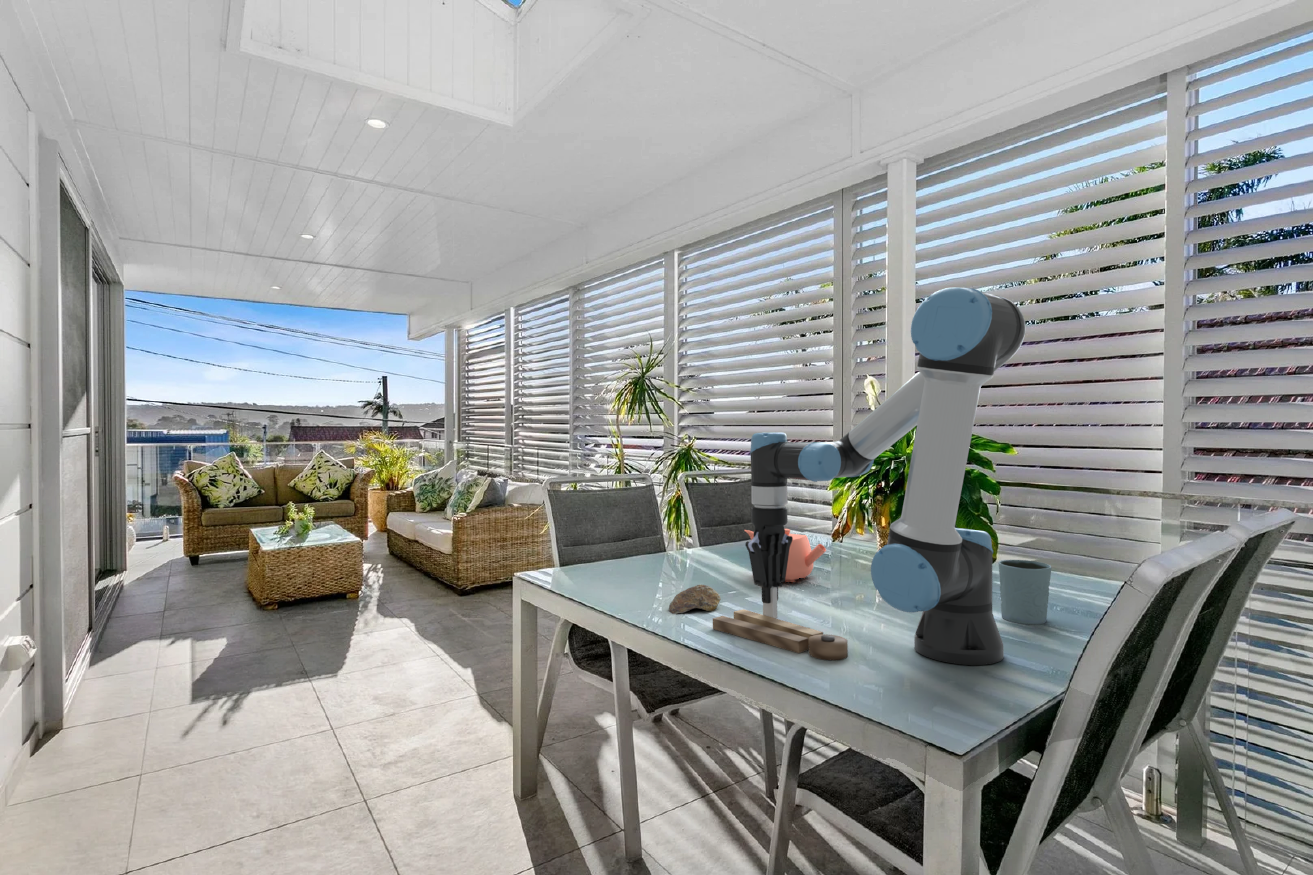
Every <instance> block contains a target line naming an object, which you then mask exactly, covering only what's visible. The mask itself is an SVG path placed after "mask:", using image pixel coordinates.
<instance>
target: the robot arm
mask: <svg viewBox="0 0 1313 875" xmlns="http://www.w3.org/2000/svg"><path fill="white" fill-rule="evenodd" d="M910 325H911V326H910V338H911V342H912V343H913V345H914V346H915V348H916V350H917V351H918V354H919V355H918V360H917V366H916V369H917V371H918V372H917V373H915V375H913V376H912V377H911V378H910V379H909V380H907V381H906V382H905V383H904V384H902V386H901V387H899V389H897V390H896V391H895V392H894V393H892V394H891V396H889V397H888V398H886V400H884V401H883V402H882V403H881V404H880V405H879V406H877V407H876V408H875V409H874V410H872V411H871V412H870V413H869V414H868V415H867V416H866V417H865V418H863V419H862V420H861V421H860V422H859V423H858V424H856V425H855V426H854V427H853V428H852V429H850V430H849V431H848V432H847V433H846V434H845V435H844V436H842V437H841V438H840V439H839V440H837V441H814V442H810V441H809V442H806V441H805V442H789V441H788V437H787V434H786V433H785V432H755V433H754V434H752V435H751V440H750V441H751V442H750V452H749V456H750V468H751V469H750V476H751V477H750V478H751V480H750V484H751V485H750V487H751V488H750V489H751V491H750V492H751V505H753V506H751V510H750V511H751V512H750V516H751V518H750V520H751V524H752V525H753V526H754V531H753V532H754V534H753V536H754V538H753V539H752V540H751V539H750V540H749V541H746V542H745V547H746V550H747V552H748V556H749V560H750V567H751V573H752V578H753V583H754V585H755V586H758V587H760V588H761V603H762V615H765V616H769V617H772V618H776V619H778V600H779V587H780V588H781V587H783V585H784V584H783V583H784V582H785V578H786V570H787V563H788V556H789V549H790V545H791V543H792V540H793V538H792V536H788V535H786V534H785V529H786V528H785V527H784V526H787V524H788V508H787V506H786V505H787V504H788V500H789V499H788V480H800V481H811V482H814V483H815V482H816V483H817V482H829V481H832V480H833V479H835V478H837V479H838V478H856V477H859V476H861V475H865V474H867V473H868V472H869V471H870V470H871V469H872V467H873V464H874V461H875V459H876V458H877V457H879V455H881V454H882V453H884V452H885V451H887V449H889V448H890V447H891V446H893V445H894V444H896V442H897V441H899V440H900V439H902V438H903V437H904V436H905V435H906V434H908V433H909V432H910V431H911V430H913V429H914V428H915V427H916V430H915V435H914V441H913V447H912V453H911V458H910V464H909V470H908V474H907V475H908V476H907V480H906V481H907V482H906V487H905V494H904V500H903V505H902V510H901V516H900V517H899V518H898V519H896V520H895V521H893V522H891V523H890V525H889V530H888V537H887V543H886V544H885V545H883V547H881V548H879V550H878V551H876V553H875V554H874V556H873V557H872V561H871V563H870V564H871V565H870V577H871V581H872V584H873V587H874V588H875V590H877V592H878V594H879V596H880V598H881V599H882V600H883V601H884V602H885V603H886V604H888V605H889V606H890V607H892V608H894V609H896V610H898V611H901V612H903V613H918V612H921V616H920V618H919V621H918V625H917V627H916V630H915V634H914V644H913V646H914V649H915V651H916V652H917V653H918V654H920V655H922V656H924V657H927V658H929V659H933V660H936V661H939V662H944V663H949V664H954V665H967V666H983V665H992V664H996V663H999V662H1001V661H1002V660H1003V659H1004V657H1005V656H1004V654H1005V653H1004V642H1003V639H1002V637H1001V634H1000V632H999V631H1000V630H999V628H998V626H997V623H996V620H995V617H994V614H993V554H994V550H993V546H992V545H993V544H992V537H991V535H990V534H989V533H988V532H987V531H984V530H975V529H968V528H959V527H956V521H957V516H958V510H959V504H960V499H961V495H962V488H963V484H964V478H965V473H966V467H967V461H968V457H969V451H970V446H971V441H972V436H973V431H974V430H973V429H974V424H975V418H976V414H977V408H978V403H979V398H980V392H981V387H982V386H983V385H984V384H985V383H987V382H988V381H990V380H992V379H993V378H994V375H995V374H994V373H995V372H996V371H997V370H999V369H1000V367H1002V366H1004V365H1005V364H1006V363H1007V362H1009V360H1011V359H1012V358H1013V357H1014V355H1016V354H1017V352H1018V351H1019V349H1020V348H1021V346H1022V345H1023V342H1024V339H1025V337H1026V327H1027V326H1026V320H1025V317H1024V315H1023V312H1022V311H1021V309H1020V308H1019V307H1018V305H1016V304H1015V302H1013V301H1012V300H1010V299H1008V298H1006V297H1003V296H1000V295H996V294H990V293H987V292H985V291H981V290H979V289H977V288H971V287H970V288H969V287H958V286H956V287H946V288H943V289H939V290H938V291H934V293H931V294H930V296H928V297H927V298H925V299H924V300H923V301H922V303H920V305H919V306H918V307H917V309H916V310H915V312H914V315H913V317H912V320H911V324H910ZM780 575H781V576H780Z"/></svg>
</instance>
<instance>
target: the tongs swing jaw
mask: <svg viewBox="0 0 1313 875" xmlns="http://www.w3.org/2000/svg"><path fill="white" fill-rule="evenodd" d="M733 619H737V620H741V621H745V622H748V623H752V624H756V625H760V626H764V627H768V628H771V629H775V630H779V631H783V632H787V633H791V634H795V635H798V636H802V637H806V638H808V646H809V637H811V636H814V635H821V634H824V632H823V631H820V630H817V629H813V628H810V627H807V626H803V625H799V624H796V623H794V622H793V623H792V622H789V621H787V620H782V619H779V618H772V617H769V616H765V615H763V613H758V612H754V611H750V610H748V609H744V608H743V609H739V610H735V611H733Z"/></svg>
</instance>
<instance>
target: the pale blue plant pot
mask: <svg viewBox="0 0 1313 875" xmlns="http://www.w3.org/2000/svg"><path fill="white" fill-rule="evenodd" d="M998 573H999V575H998V576H999V584H1000V585H999V592H1000V593H999V596H1000V601H1001V602H1000V611H1001V618H1002V619H1004V620H1006V621H1008V622H1011V623H1015V624H1016V623H1017V624H1021V625H1022V624H1023V625H1041V624H1045V623H1046V622H1047V617H1048V606H1049V605H1048V604H1049V597H1050V584H1051V583H1050V582H1051V576H1052V566H1051V564H1048V563H1045V562H1040V561H1036V560H1026V559H1003V560H999V561H998Z"/></svg>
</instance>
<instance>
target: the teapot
mask: <svg viewBox="0 0 1313 875" xmlns="http://www.w3.org/2000/svg"><path fill="white" fill-rule="evenodd" d="M784 529H785V534H786V535H788V536H792V538H793V540H792V543H791V545H790V549H789V556H788V563H787V570H786V578H785V581H784V582H785V583H786V582H795V583H796V580H800V579H799V578H804V579H806V577H808V576H810V574H811V573H812V571H813V569H814V562H816V561H817V560H818V559H819V558H820V557H821V556H823V555H824V554H825V552H827V548H826V547H825V546H824V545H823V544H821V543H818V544H817V545H816V546H815V547H814V548H813V549H812V548H811V544H810V541H809V538H808V536H807V535H806V534H796V533H791V529H789V528H784ZM744 532H745V533H747V535H748V536H749V538H750V541H751V540H752V539H753V538H754V536H753V534H754V531H752V530H749V529H748V530H747V529H744ZM780 576H781V575H780Z"/></svg>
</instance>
